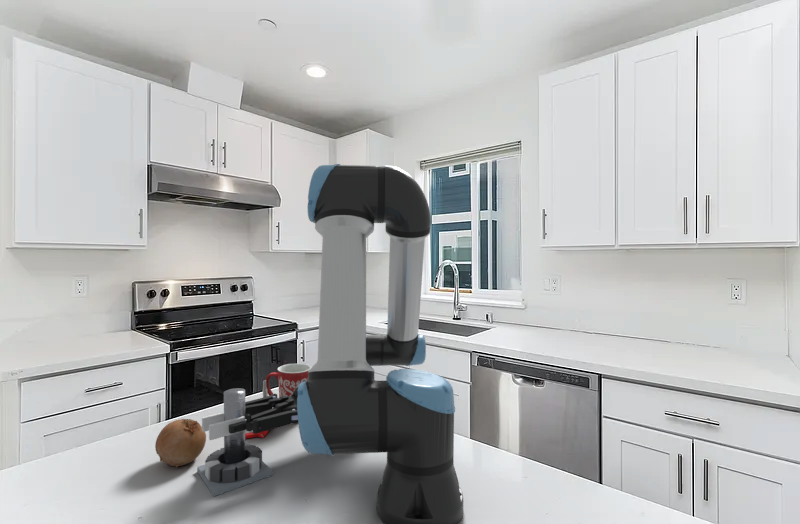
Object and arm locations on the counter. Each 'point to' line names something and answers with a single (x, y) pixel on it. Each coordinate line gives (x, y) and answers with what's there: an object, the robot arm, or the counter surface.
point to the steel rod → (235, 442)
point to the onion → (180, 442)
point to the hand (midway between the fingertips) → (206, 428)
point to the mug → (289, 378)
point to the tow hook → (262, 434)
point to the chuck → (233, 470)
